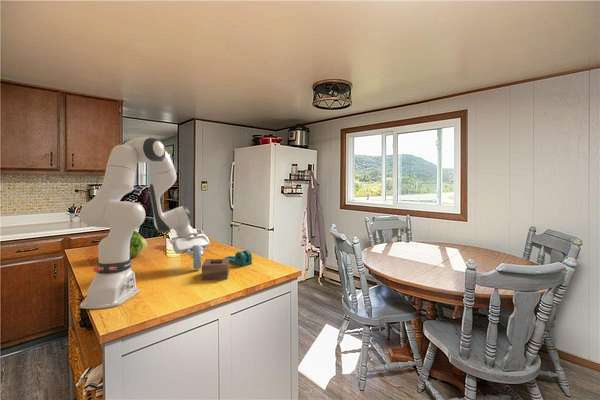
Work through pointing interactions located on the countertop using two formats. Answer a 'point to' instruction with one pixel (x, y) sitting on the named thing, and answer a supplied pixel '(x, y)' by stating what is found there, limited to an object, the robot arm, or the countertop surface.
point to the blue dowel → (197, 256)
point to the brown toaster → (215, 269)
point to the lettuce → (137, 244)
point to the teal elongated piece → (241, 258)
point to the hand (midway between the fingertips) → (197, 256)
